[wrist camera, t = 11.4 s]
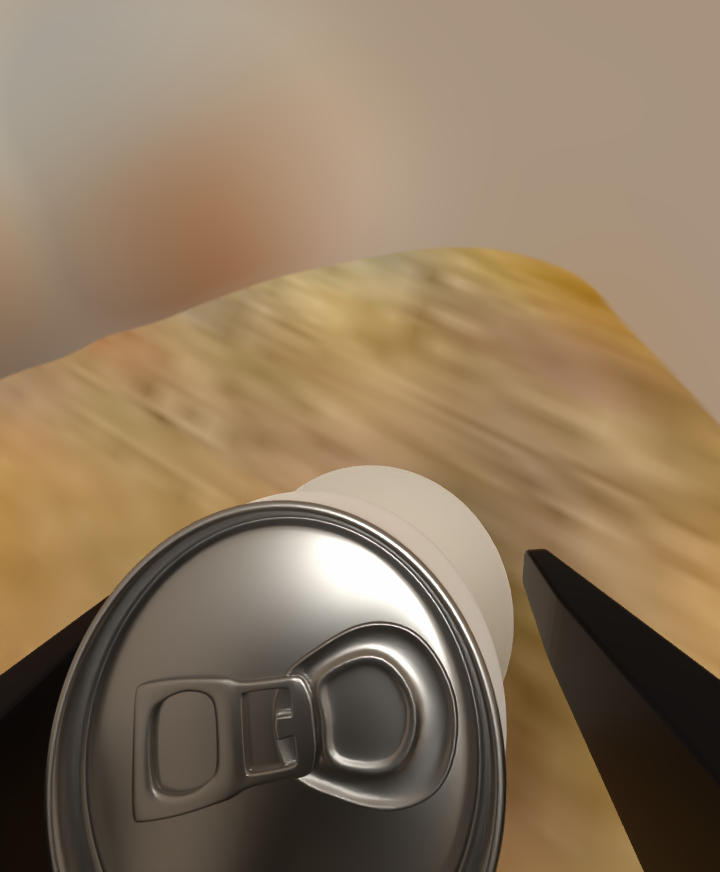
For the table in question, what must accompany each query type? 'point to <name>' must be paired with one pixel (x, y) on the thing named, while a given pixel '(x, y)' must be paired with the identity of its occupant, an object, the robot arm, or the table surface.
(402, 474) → the coaster
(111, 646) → the can
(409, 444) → the table surface
